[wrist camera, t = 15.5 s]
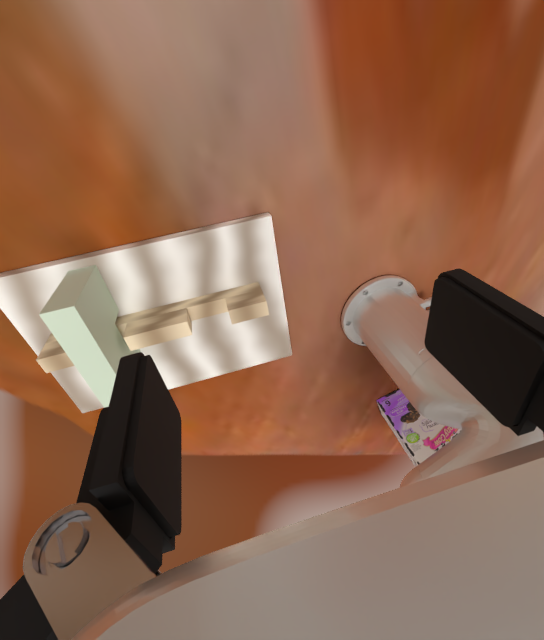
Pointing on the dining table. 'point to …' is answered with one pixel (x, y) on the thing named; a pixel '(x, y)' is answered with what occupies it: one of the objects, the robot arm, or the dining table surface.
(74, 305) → the cross piece
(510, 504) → the robot arm
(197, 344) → the white rectangular board
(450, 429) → the candy box
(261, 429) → the dining table surface
